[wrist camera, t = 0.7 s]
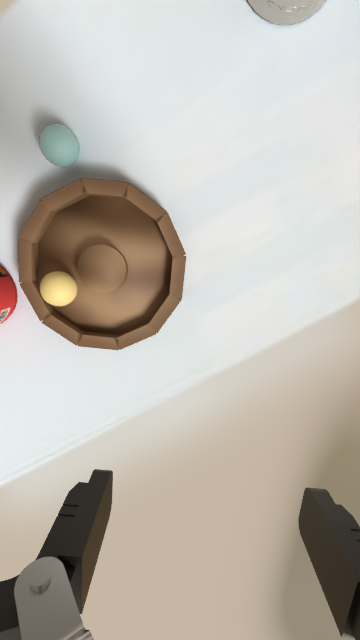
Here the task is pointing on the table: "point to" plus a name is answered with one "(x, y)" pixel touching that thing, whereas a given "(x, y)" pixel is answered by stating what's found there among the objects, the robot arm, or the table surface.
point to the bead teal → (59, 145)
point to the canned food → (7, 295)
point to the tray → (103, 262)
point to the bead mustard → (58, 288)
